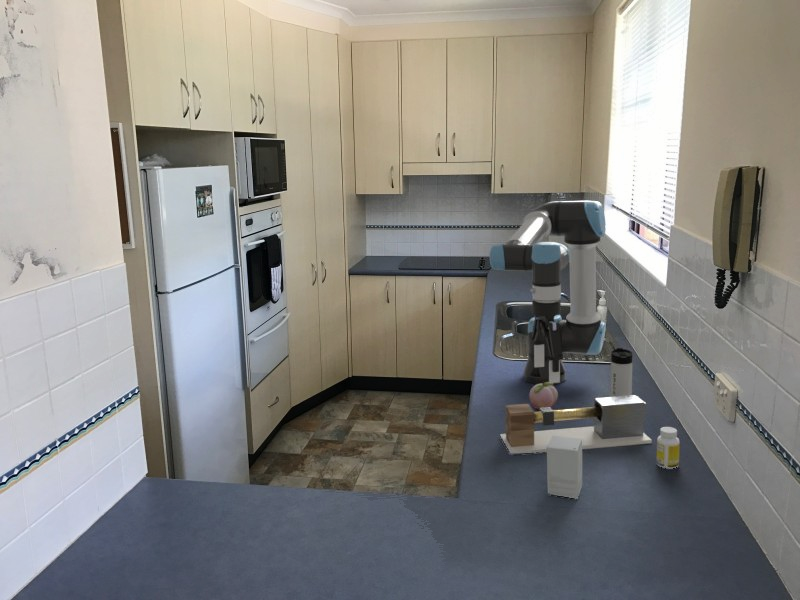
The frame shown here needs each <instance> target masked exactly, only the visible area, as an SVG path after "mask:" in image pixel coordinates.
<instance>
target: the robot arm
mask: <svg viewBox="0 0 800 600" xmlns="http://www.w3.org/2000/svg"><path fill="white" fill-rule="evenodd" d="M605 215H606V214H605V212H604V208H603V205H602V203H600V201H596V200H587V199H586V200H564V201H563V200H562V201H561V200H560V201H559V200H558V201H557V200H556V201H549V202H546V203H544V204H541V205H539V206H536V207H535V208H533V209H532V210H530V211H529V212H528V213H527V214H526V215H525V217H524V218H523V219H522V220H523V221H522V224H521V226H519V228H518V229H517V230H516V231H515V232H514V233H513V235H512V236H511V237H510V238H509V240H507V242H506V243H505V244H503V243H499V244H494V245H492V246H491V248H490V251H489V264H490V267H491V269H493V270H495V271H496V270H497V271H503V272H507V271H508V272H509V271H510V272H516V271H517V272H531V279H532V280H531V282H532V284H531V286H532V288H530V293H531V294H532V299H533V300H532V301H531V304H532V305H531V307H532V308H531V310H532V311H531V312H532V314H533V315H534V317H531V318H530V319H528V325H527V344H528V345H527V351H528V356H527V360H526V364H525V366H524V369H523V380H525V381H526V380H527V381H526V382H528V381H529V383H531V382H532V383H531V384H535V385H537V384H541V383H543V381H544V383H545V382H549V383H553V384H554V385H556V384H561V383H564V382H565V380H567V373H566V369H565V366H564V362H563V359H564V355H563V353H564V354H565V353H566V354H567V353H568V354H577V355H586V356H589V355H592V356H593V355H595V356H597V355H598V354H600V353H601V351H602V348H603V345H604V342H605V341H604V340H605V336H606V328H607V327H606V324H607V323H606V322H604V321H602V318H601V315H600V314H599V313H598V312H597V273H596V272H597V271H596V270H597V266H596V265H597V262H596V261H597V258H596V257H597V256H596V253H597V252H596V251H597V249H596V246H597V245H598V244H599V243H600V242H601V238H602V237H604V236H606V235H605V234H606V230H607V229H606V217H605ZM546 237H563V238H564V239H563V240H564V244H562V243H560V242H559V243H558V242H555V241H541V240H543V239H545V238H546ZM566 245H567V246H568V247H567V246H566ZM568 265H569V290H570V291H569V294H570V295H569V296H570V297H569V298H570V299H569V300H570V301H569V305H570V306H569V307H570V309H569V310H570V312H569V313H568V314H567V315H566V317H565V318H566V319H562V315H561V310H562V309H561V308H562V307H561V306H562V305H561V304H562V303H561V298H562V283H561V273H562V272H561V271H563V270H564V269H566V268H567V266H568Z"/></svg>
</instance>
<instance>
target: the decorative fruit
mask: <svg viewBox="0 0 800 600" xmlns="http://www.w3.org/2000/svg"><path fill="white" fill-rule="evenodd" d="M528 396H529V400H530V403H531V404H532V405H533V407H535V408H536V409H537V410H539V411H540V408H542V407H551V408H552V407H554V406H555V403H556V402H557V400H558V398H559V393H558V389H556V387H555V384H553V383H549V382H545V383H544V381H543V383H541V384H535V385H534V386H532V388H530V391H529V395H528Z"/></svg>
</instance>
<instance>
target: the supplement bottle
mask: <svg viewBox="0 0 800 600" xmlns="http://www.w3.org/2000/svg"><path fill="white" fill-rule="evenodd" d="M659 433H660V435H658V437H657V439H656V465H657V466H658V467H659V468H661V467H662V469H665V468H666V469H665V470H674V469H673V468H675V469H677V468H678V467H679V466H680V444H681V443H680V438H678V437H677V436H678V430H677V429H676V428H675V427H672V426H663V427H661V428H660V429H659ZM676 467H677V468H676Z"/></svg>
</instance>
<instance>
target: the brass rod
mask: <svg viewBox="0 0 800 600" xmlns="http://www.w3.org/2000/svg"><path fill="white" fill-rule="evenodd" d="M597 417H601V407H600V406H599V407H594V406H591V407H578V408H577V407H575V408H565V409H553V408H552V407H542V408H540V410H539V411H534V424H535V423H541V425H542V426H543V427H546V426H554V425H555V422H559V421H560V422H561V421H570V420H572V421H573V420H581V419H583V420H584V419H594V418H597Z"/></svg>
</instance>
